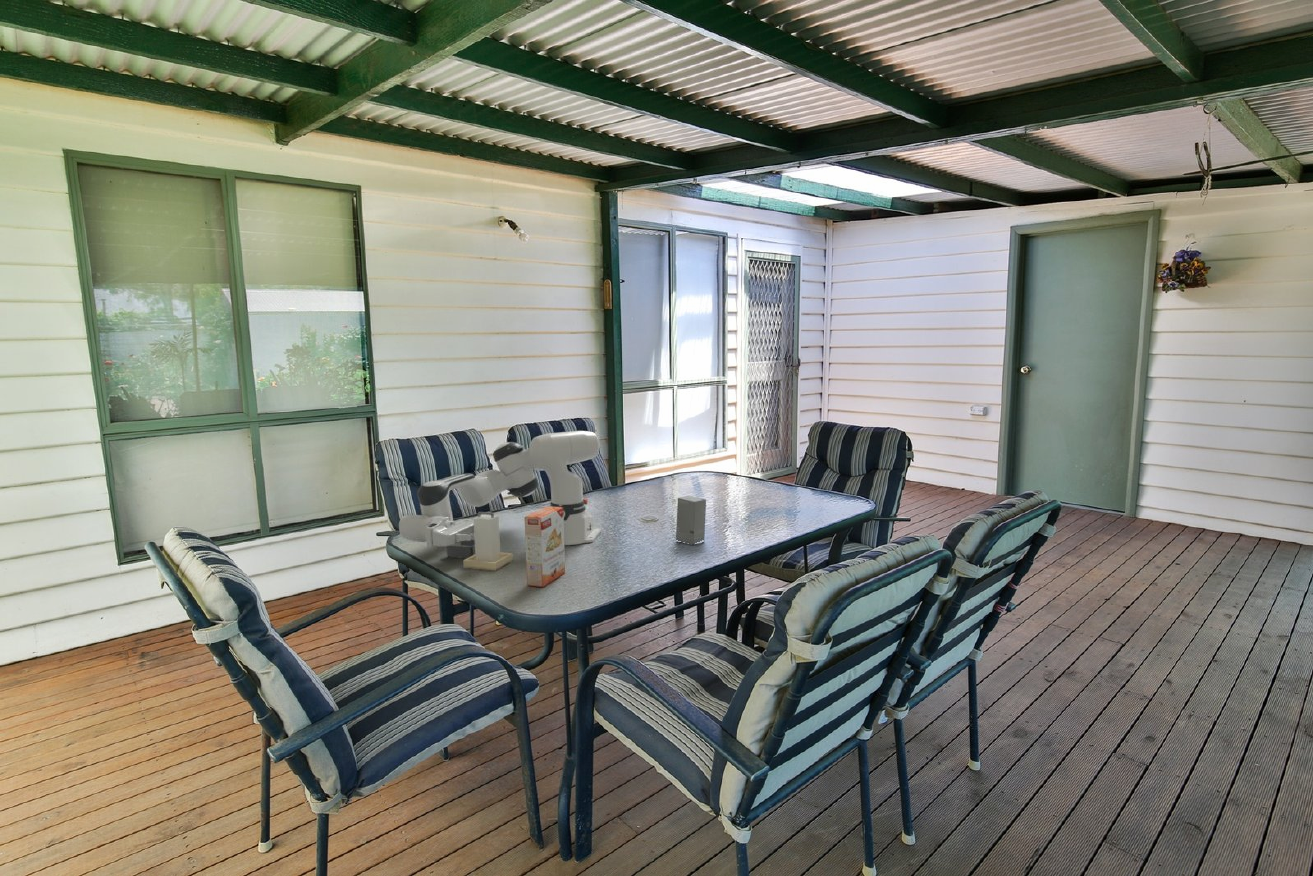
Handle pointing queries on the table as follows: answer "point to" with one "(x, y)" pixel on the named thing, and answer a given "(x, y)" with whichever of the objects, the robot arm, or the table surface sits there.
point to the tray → (484, 565)
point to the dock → (462, 549)
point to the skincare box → (690, 519)
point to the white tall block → (487, 537)
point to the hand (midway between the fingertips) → (479, 533)
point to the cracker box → (544, 546)
